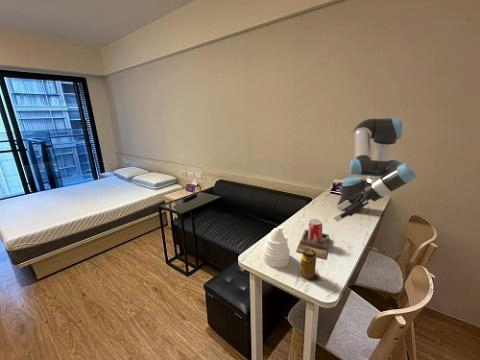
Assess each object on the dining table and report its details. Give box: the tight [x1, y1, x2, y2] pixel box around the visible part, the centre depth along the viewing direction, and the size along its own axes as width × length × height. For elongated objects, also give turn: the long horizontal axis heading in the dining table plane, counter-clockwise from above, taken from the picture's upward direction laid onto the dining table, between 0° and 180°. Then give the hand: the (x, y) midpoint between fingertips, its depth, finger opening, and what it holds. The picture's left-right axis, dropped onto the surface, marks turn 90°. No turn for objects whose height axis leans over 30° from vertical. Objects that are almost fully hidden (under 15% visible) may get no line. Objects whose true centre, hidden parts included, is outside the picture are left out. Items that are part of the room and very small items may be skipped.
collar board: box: [295, 229, 330, 260], centre depth 119 cm, size 20×14×4 cm
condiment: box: [297, 249, 323, 282], centre depth 96 cm, size 7×8×12 cm
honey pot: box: [262, 225, 291, 269], centre depth 106 cm, size 13×13×18 cm
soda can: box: [307, 218, 323, 244], centre depth 119 cm, size 7×7×12 cm
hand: (337, 213), depth 111 cm, fingers open, 13 cm apart
